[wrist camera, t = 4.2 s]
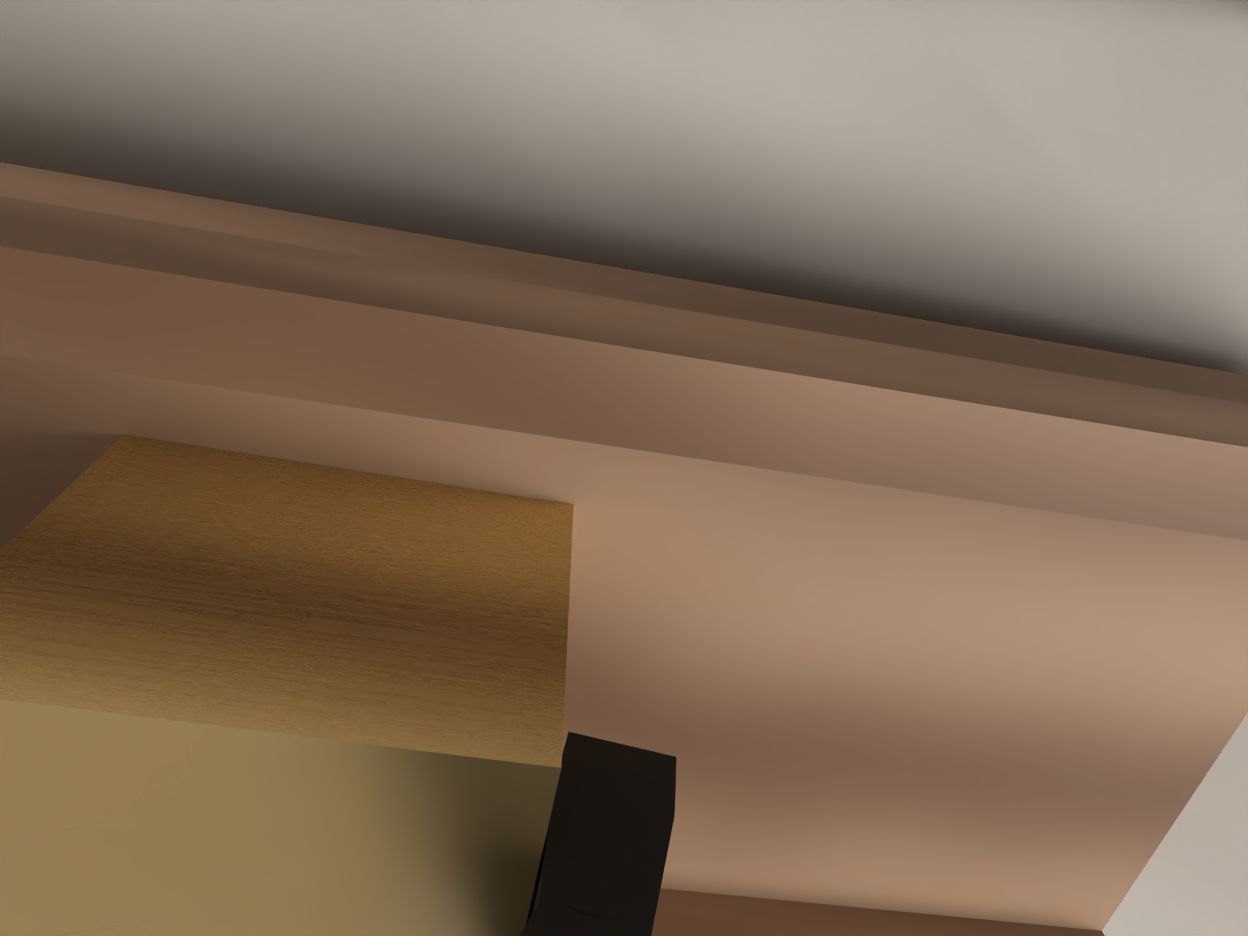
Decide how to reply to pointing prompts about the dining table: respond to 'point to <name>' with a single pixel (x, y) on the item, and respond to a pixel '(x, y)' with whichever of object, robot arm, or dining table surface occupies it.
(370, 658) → the wood grain cube
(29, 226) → the beam
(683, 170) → the dining table surface
